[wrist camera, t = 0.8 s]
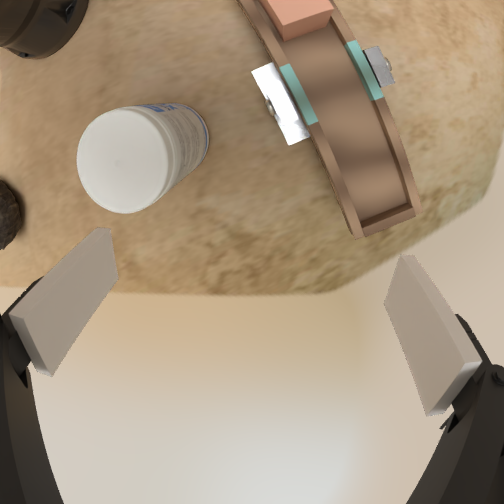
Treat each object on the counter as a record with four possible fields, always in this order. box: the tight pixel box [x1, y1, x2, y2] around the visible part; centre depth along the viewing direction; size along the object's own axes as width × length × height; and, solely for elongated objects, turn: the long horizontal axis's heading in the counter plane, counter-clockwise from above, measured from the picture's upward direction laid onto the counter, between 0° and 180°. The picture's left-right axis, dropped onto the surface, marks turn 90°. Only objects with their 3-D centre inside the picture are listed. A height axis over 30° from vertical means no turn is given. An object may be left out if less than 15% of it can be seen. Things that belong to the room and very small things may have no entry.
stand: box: [252, 46, 395, 145], centre depth 28 cm, size 10×13×8 cm
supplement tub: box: [77, 103, 209, 214], centre depth 30 cm, size 10×10×15 cm
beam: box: [237, 0, 423, 240], centre depth 27 cm, size 30×8×8 cm, turn 26°
